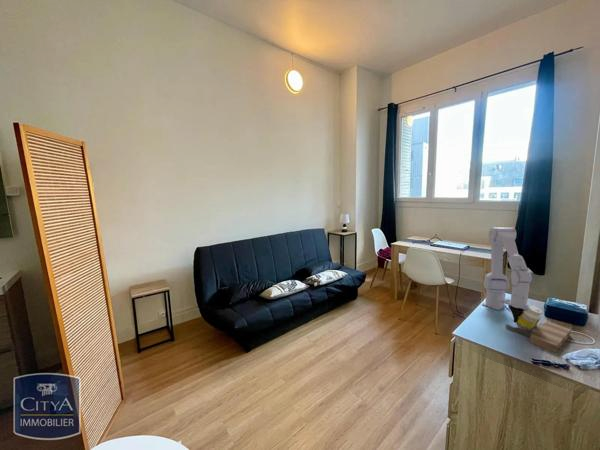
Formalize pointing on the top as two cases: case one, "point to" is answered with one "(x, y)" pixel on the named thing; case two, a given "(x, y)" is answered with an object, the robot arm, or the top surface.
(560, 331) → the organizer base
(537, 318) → the pill bottle
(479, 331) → the top surface
